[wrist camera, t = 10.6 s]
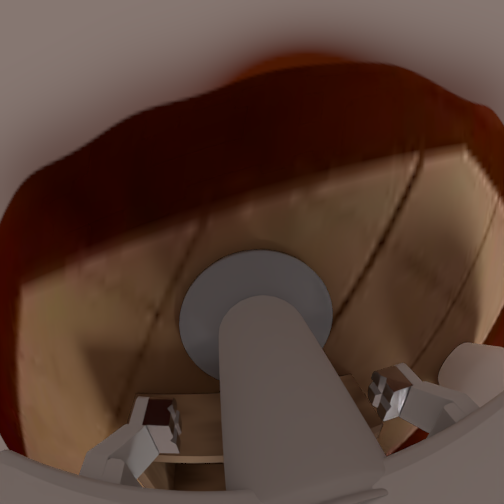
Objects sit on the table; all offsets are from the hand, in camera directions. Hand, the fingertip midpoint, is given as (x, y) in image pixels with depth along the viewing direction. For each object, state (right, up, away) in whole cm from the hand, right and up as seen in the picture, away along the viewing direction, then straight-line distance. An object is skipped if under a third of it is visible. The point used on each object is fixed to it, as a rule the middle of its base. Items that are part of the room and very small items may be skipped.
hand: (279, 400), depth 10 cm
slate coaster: (-1, +2, +6) cm, 7 cm away
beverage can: (-1, +1, +6) cm, 6 cm away
